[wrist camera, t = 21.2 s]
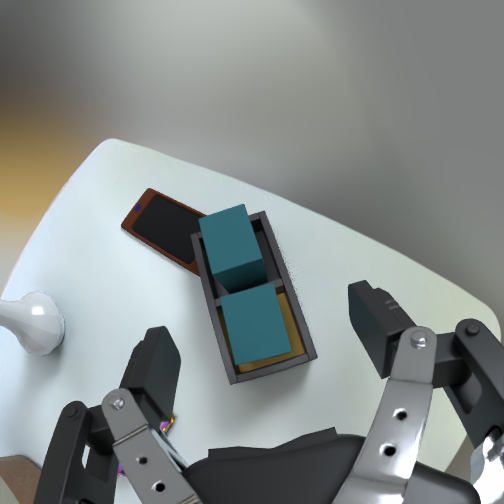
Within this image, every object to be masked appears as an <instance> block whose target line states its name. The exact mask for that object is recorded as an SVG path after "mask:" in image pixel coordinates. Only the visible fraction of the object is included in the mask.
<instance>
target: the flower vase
mask: <svg viewBox="0 0 504 504" xmlns="http://www.w3.org/2000/svg"><path fill="white" fill-rule="evenodd" d="M0 325H1V326H3V327H5V328H7V329H8V330H10V331H11V332H12V333H13V334H14V335H15V336H16V338H17V340H18V341H19V343H20V345H21V346H22V347H23V348H24V349H25V350H26V351H27V352H29V353H30V354H33V355H35V356H45V355H47V354H49V353H50V352H51V351H52V350H53V349H54V348H55V347H56V346H58V345H59V344H60V343H61V341H62V339H63V336H64V331H65V322H64V318H63V315H62V313H61V312H60V311H59V309H58V306H57V304H56V302H55V301H54V299H53V298H52V297H51V296H50V295H48V294H47V293H45V292H41V291H34V292H30V293H28V294H26V295H25V296H24V297H22V298H21V299H20V300H18V301H5V300H1V299H0Z"/></svg>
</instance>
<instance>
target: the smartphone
mask: <svg viewBox="0 0 504 504" xmlns="http://www.w3.org/2000/svg"><path fill="white" fill-rule="evenodd" d="M205 216H207V215H205V214H203V213H201V212H199V211H197V210H195V209H193V208H191V207H189V206H186V205H184V204H182V203H180V202H178V201H176V200H174V199H172V198H170V197H168V196H166V195H164V194H162V193H160V192H158V191H155V190H153V189H151V188H148V189H147V190H146V191H145V192H144V194H143V195H142V196H141V198H140V199H139V200H138V202H137V203H136V204H135V206H134V207H133V208H132V210H131V211H130V212H129V214H128V215H127V217H126V218H125V219H124V221H123V222H122V224H121V227H122V228H123V229H124V230H126V231H127V232H129V233H130V234H132V235H133V236H135V237H136V238H138V239H140V240H141V241H143V242H144V243H146V244H147V245H149V246H150V247H152V248H154V249H155V250H157V251H158V252H160V253H161V254H163V255H165V256H166V257H168V258H169V259H171V260H173V261H174V262H176V263H178V264H179V265H181V266H182V267H184V268H186V269H187V270H189V271H191V272H192V273H194V274H196V275H198V276H199V277H200V274H199V270H198V265H197V261H196V257H195V253H194V248H193V244H192V239H191V234H194V233H198V232H201V228H200V224H199V218H202V217H205Z"/></svg>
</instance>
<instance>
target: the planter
mask: <svg viewBox="0 0 504 504" xmlns="http://www.w3.org/2000/svg"><path fill="white" fill-rule="evenodd" d="M40 474H41V470H40V469H39V468H38V467H37V466H36V465H35V464H34V463H33V462H31V461H30V460H29V459H27V458H25V457H23V456H20V455H15V456H8V457H0V504H33V502H34V498H35V494H36V489H37V485H38V482H39V478H40Z"/></svg>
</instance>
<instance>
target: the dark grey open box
mask: <svg viewBox="0 0 504 504" xmlns="http://www.w3.org/2000/svg"><path fill="white" fill-rule="evenodd" d="M248 217H249V220H250V223H251V225H252V228H253V231H254V234H255V237H256V240H257V243H258V246H259V249H260V252H261V255H262V257H263V262H264V266H265V271H266V275H267V280H268V283H265V284H262V285H259V286H256V287H253V288H257V287H260V286H264V285H268V284H271V283H273V284H274V287H275V291H276V294H277V298H278V302H279V305H280V309H281V312H282V316H283V320H284V323H285V327H286V331H287V334H288V338H289V342H290V346H291V349H292V352H290V353H286V354H282V355H279V356H275V357H271V358H267V359H263V360H259V361H255V362H250V363H246V364H240V365H235V361H234V357H233V353H232V348H231V344H230V340H229V336H228V331H227V327H226V323H225V318H224V314H223V309H222V305H221V300H220V297H222V296H226V295H230V294H229V293H228V292H227V291H226V290H225V289H224V287H223V286H222V285H221V284H220V283H219V282H218V280H217V279H216V278H215V277H214V276H213V275H212V272H211V268H210V264H209V260H208V256H207V252H206V248H205V244H204V240H203V236H202V232H198V233H194V234H191V239H192V244H193V248H194V253H195V257H196V261H197V265H198V270H199V274H200V278H201V282H202V286H203V290H204V294H205V298H206V301H207V305H208V309H209V313H210V316H211V320H212V324H213V327H214V331H215V335H216V338H217V342H218V345H219V349H220V352H221V356H222V359H223V362H224V366H225V369H226V372H227V376H228V379H229V382H230V385H232V384H236V383H240V382H244V381H247V380H251V379H254V378H258V377H261V376H265V375H268V374H271V373H275V372H278V371H281V370H284V369H287V368H290V367H293V366H296V365H299V364H302V363H305V362H308V361H309V360H313V359H316V358H318V357H317V354H316V351H315V348H314V345H313V342H312V339H311V336H310V333H309V330H308V327H307V325H306V322H305V319H304V316H303V313H302V310H301V307H300V305H299V302H298V299H297V296H296V293H295V291H294V288H293V285H292V282H291V279H290V277H289V274H288V271H287V268H286V266H285V263H284V260H283V258H282V255H281V252H280V249H279V247H278V244H277V241H276V239H275V236H274V233H273V231H272V228H271V225H270V223H269V220H268V218H267V215H266V212H265V211H261V212H258V213H255V214H252V215H249V216H248ZM253 288H249V289H253ZM249 289H246V290H249ZM243 291H245V290H243ZM240 292H241V291H240ZM237 293H238V292H237Z"/></svg>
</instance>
